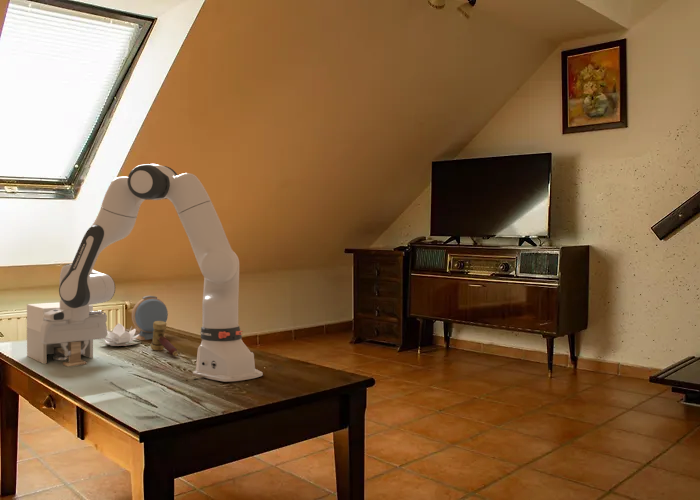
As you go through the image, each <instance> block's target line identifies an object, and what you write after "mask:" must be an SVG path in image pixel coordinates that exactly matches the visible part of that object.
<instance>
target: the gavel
mask: <svg viewBox="0 0 700 500" xmlns="http://www.w3.org/2000/svg"><path fill="white" fill-rule="evenodd" d="M153 328H154V331H153V339H151V340H152V341H151V343H150V349H151V350H153V351H156V352H157V351H162V350H164V349H165V350H166V351H167V352H168V353H169V354H170V355H171V356H174V357H178V355H179V354H178V353H179V352H178V349H177V348H176V347H175V346H174V345H173V344H172V343H171V342H170V341H169V340H168V338H167V337H164V336H165V335H166V334H165V333H166V329H167V321H166V322H164V321H155V322H154V323H153Z"/></svg>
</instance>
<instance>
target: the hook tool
mask: <svg viewBox="0 0 700 500" xmlns="http://www.w3.org/2000/svg"><path fill="white" fill-rule="evenodd" d="M69 350H70V351H71V353H70V354H71V356H69V359H68V361H63V362H62V365H63V366H66V367H67V368H68V367H74V366H83V365H87V361H85V360H83V359H82V355H81V341H76V342H69ZM59 355H64V350H63V348H62V347H54V354H53V357H54V356H59Z"/></svg>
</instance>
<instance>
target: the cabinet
mask: <svg viewBox="0 0 700 500" xmlns="http://www.w3.org/2000/svg"><path fill="white" fill-rule="evenodd" d="M59 307H60V301H58V302H42V303H28V304H26V356H27V357H28V358H31V359H33V360H35V361H37V362H39V363H41V364H43V365H44V364H47V363H48V362H47V361H48V359H47V357H48V356H47V355H52V354H53V355H54V347H61V343H56V344H43V343H42V342H41V341H40V332H41V326H42V323H43V322H44V321H45V320H46V319H44V313H46V312H49V311H51V310H54V309H57V308H59ZM90 311H94V304H92V305H89V312H90ZM82 346H83V343H82V341H81V348H82ZM66 348H67V349H68V350H69V342H67V346H66ZM82 356H84V357H86V358H89V359H93V358H94V340H89V344H88V345H87V347H86V349H85V354H83V355H82Z"/></svg>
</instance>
